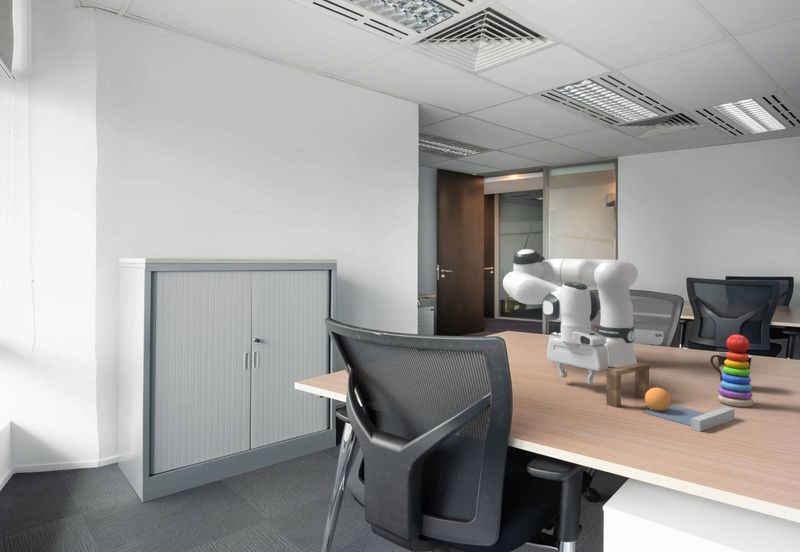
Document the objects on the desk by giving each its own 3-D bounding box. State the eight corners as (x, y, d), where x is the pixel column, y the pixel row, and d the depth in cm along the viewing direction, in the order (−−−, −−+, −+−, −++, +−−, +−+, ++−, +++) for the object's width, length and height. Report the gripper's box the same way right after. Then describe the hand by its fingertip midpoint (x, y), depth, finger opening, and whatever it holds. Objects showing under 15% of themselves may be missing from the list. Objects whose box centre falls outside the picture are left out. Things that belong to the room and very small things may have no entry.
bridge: (606, 404, 131) (606, 369, 131) (639, 395, 139) (639, 362, 139) (616, 407, 129) (616, 371, 128) (649, 398, 137) (649, 364, 136)
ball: (647, 384, 124) (664, 403, 120) (662, 381, 127) (680, 399, 123) (635, 399, 128) (652, 418, 124) (651, 395, 130) (667, 413, 126)
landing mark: (642, 412, 124) (642, 411, 124) (669, 404, 130) (669, 404, 130) (691, 426, 114) (691, 425, 114) (717, 417, 120) (717, 416, 120)
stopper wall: (691, 429, 112) (691, 418, 112) (725, 416, 120) (725, 406, 120) (700, 431, 110) (700, 420, 110) (734, 418, 118) (734, 408, 118)
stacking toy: (743, 409, 126) (744, 338, 125) (711, 401, 133) (712, 334, 132) (759, 405, 129) (760, 335, 129) (727, 397, 136) (728, 331, 136)
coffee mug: (757, 392, 141) (757, 358, 141) (724, 390, 143) (724, 357, 143) (737, 382, 153) (738, 350, 152) (707, 381, 154) (708, 350, 154)
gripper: (542, 332, 156) (542, 374, 156) (597, 340, 138) (597, 388, 139) (555, 330, 159) (555, 372, 159) (611, 338, 141) (611, 385, 142)
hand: (575, 380), depth 149 cm, fingers open, 8 cm apart
